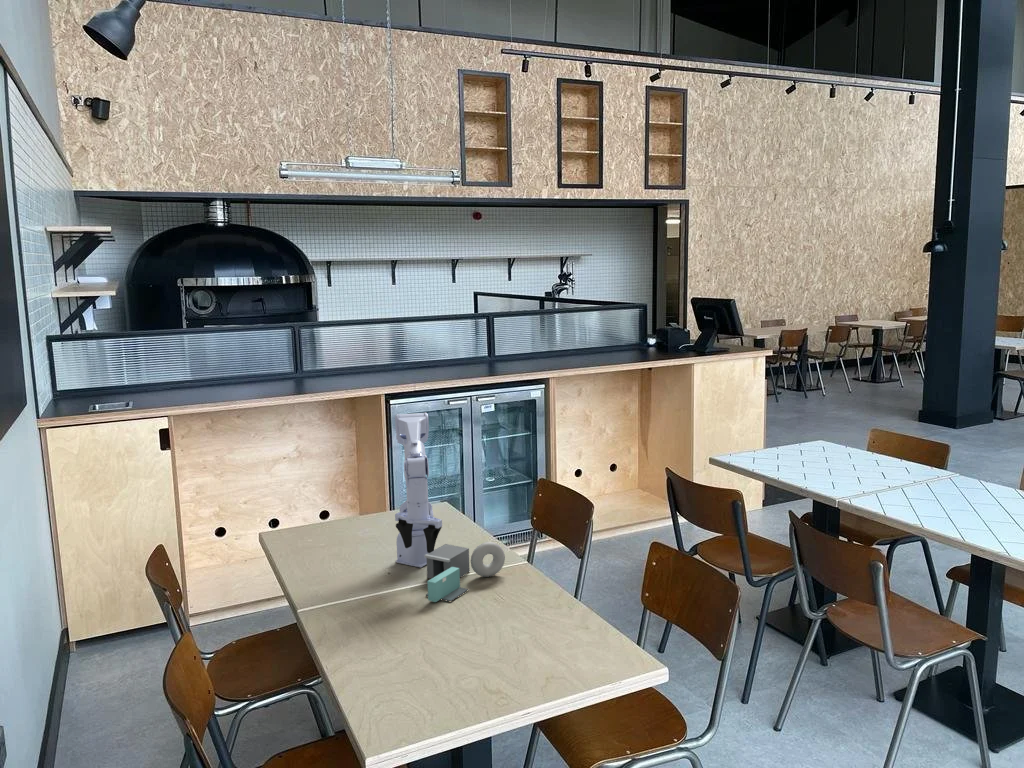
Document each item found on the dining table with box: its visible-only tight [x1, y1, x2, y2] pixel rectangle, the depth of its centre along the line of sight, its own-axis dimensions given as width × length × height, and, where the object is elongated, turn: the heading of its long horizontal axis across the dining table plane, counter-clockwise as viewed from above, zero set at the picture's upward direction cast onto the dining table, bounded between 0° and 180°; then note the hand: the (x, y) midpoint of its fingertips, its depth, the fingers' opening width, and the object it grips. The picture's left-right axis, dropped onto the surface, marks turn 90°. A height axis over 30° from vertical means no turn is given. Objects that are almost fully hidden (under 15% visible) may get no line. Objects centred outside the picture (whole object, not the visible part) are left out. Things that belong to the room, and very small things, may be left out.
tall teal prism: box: [427, 567, 461, 603], centre depth 200 cm, size 2×11×5 cm, turn 150°
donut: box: [470, 541, 506, 578], centre depth 212 cm, size 10×4×10 cm, turn 112°
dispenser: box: [425, 543, 471, 579], centre depth 213 cm, size 8×10×7 cm
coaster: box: [425, 586, 469, 602], centre depth 202 cm, size 8×8×1 cm
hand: (419, 549), depth 208 cm, fingers open, 7 cm apart
